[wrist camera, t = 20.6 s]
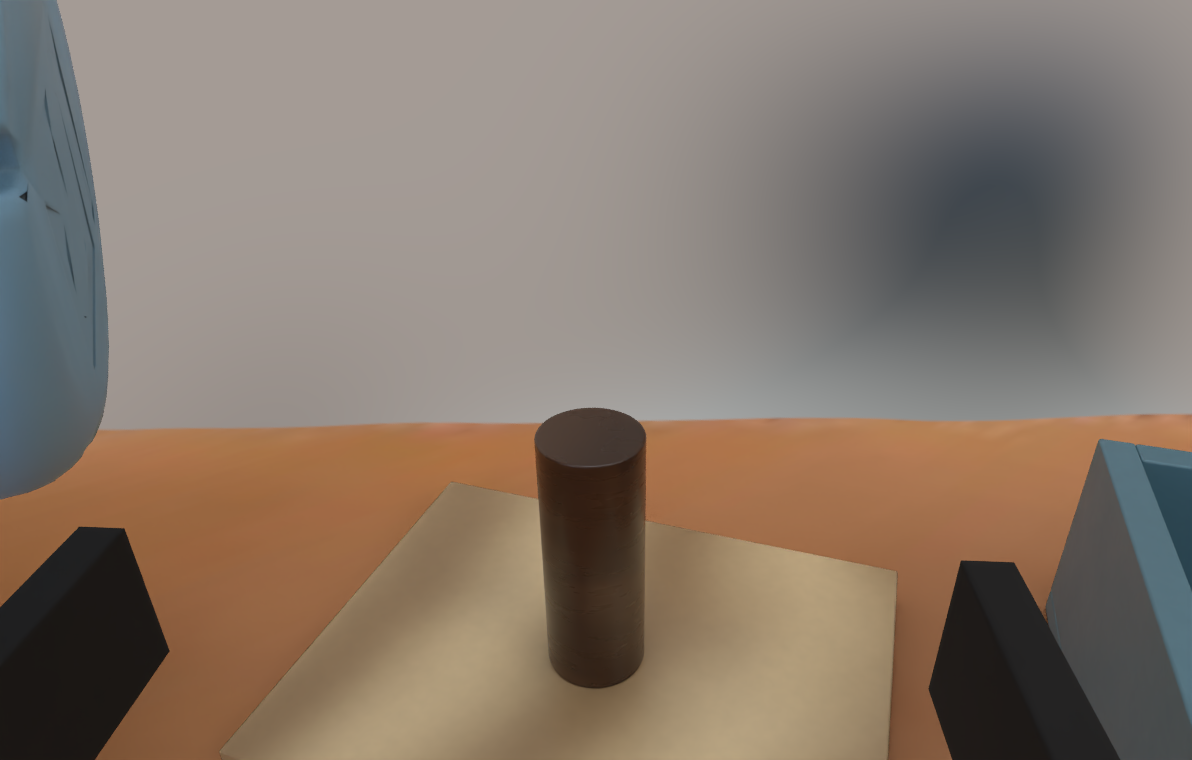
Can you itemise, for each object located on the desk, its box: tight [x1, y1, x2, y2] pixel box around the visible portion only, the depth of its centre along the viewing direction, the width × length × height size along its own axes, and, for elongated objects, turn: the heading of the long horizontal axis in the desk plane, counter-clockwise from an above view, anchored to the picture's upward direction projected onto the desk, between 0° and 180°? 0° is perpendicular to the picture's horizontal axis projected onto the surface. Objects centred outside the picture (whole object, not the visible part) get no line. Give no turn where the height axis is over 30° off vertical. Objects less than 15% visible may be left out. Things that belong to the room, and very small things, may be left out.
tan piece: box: [219, 408, 898, 760], centre depth 24 cm, size 18×14×9 cm
